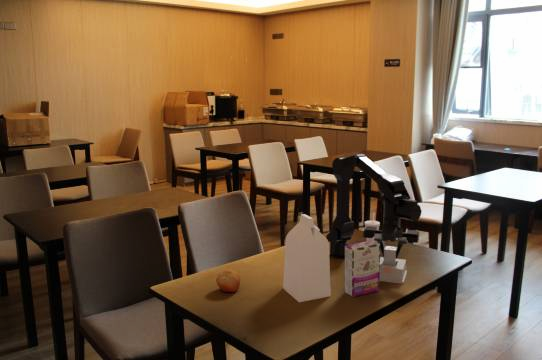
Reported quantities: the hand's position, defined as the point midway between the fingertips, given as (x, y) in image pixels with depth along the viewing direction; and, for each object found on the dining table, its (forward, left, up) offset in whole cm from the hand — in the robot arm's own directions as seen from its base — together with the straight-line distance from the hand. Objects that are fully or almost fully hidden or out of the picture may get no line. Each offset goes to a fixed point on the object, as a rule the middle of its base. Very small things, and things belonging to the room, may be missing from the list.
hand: (390, 257), depth 184 cm
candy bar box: (-7, -17, -7) cm, 19 cm away
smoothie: (-12, +33, -7) cm, 36 cm away
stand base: (0, 0, -7) cm, 7 cm away
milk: (-24, -23, -7) cm, 34 cm away
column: (0, 0, -7) cm, 7 cm away
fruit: (-49, -30, -7) cm, 58 cm away
